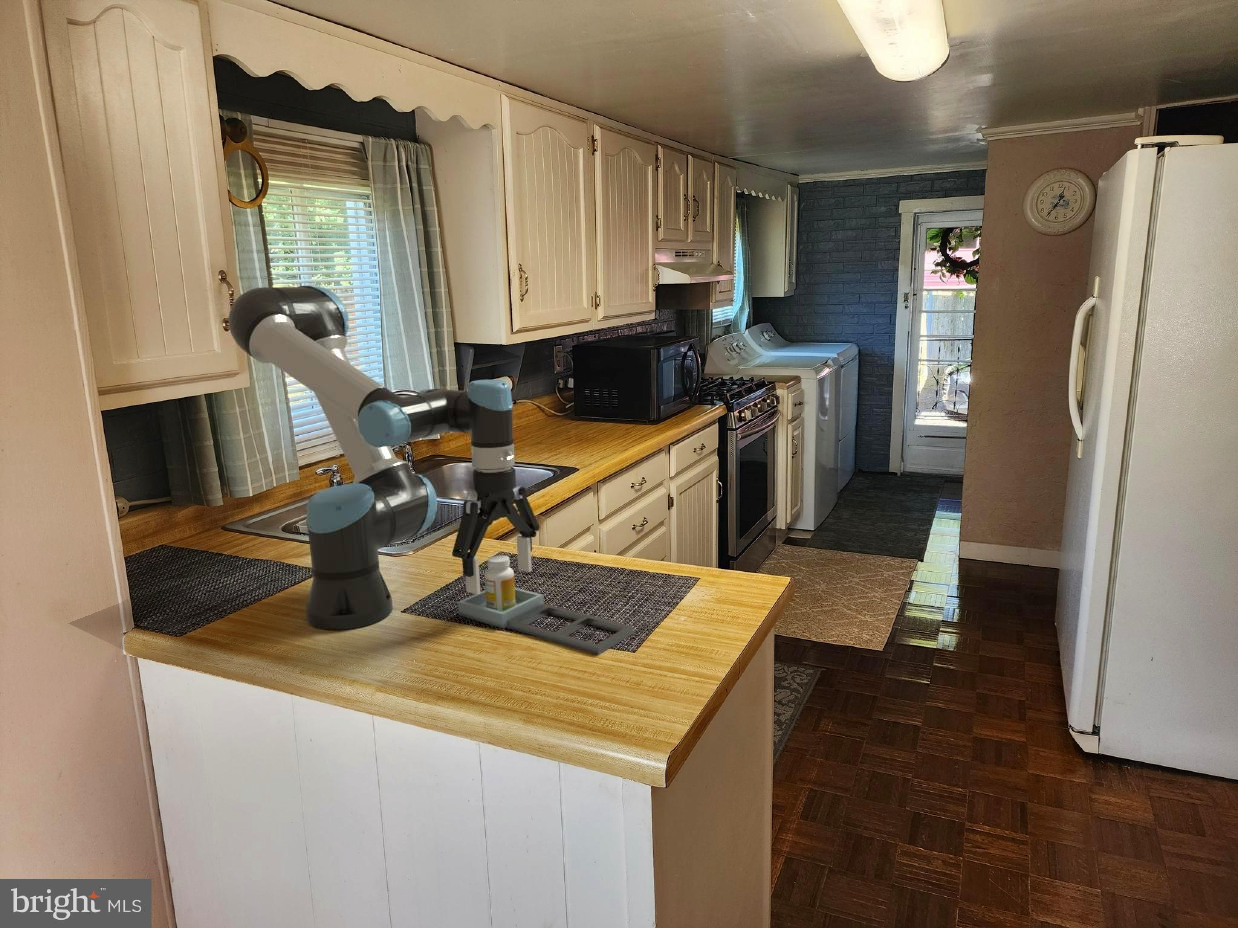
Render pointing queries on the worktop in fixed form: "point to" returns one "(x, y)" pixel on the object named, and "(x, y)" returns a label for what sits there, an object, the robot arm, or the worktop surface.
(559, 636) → the dark grey double frame
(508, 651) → the worktop surface
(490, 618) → the tray
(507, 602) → the supplement bottle
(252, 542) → the worktop surface
